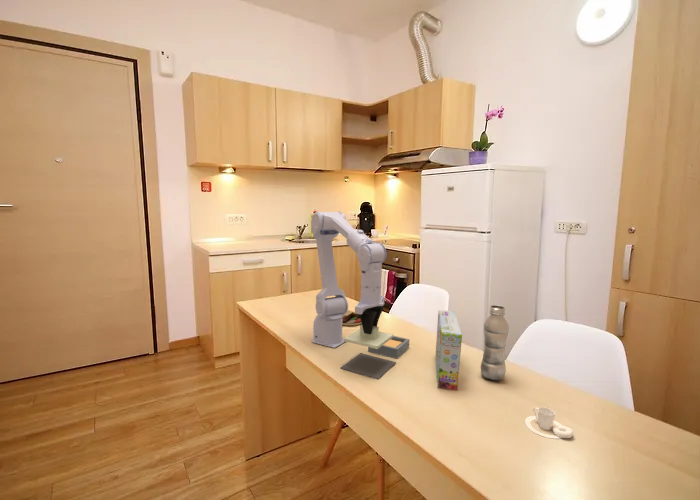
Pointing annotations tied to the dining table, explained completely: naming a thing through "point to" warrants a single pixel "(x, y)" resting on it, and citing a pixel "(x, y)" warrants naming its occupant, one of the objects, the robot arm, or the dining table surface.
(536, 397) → the dining table surface
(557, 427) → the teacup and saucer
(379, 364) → the mat
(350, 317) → the toy sandwich meal
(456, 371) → the snack box
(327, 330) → the robot arm
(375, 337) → the lid
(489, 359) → the plastic bottle
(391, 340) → the box
